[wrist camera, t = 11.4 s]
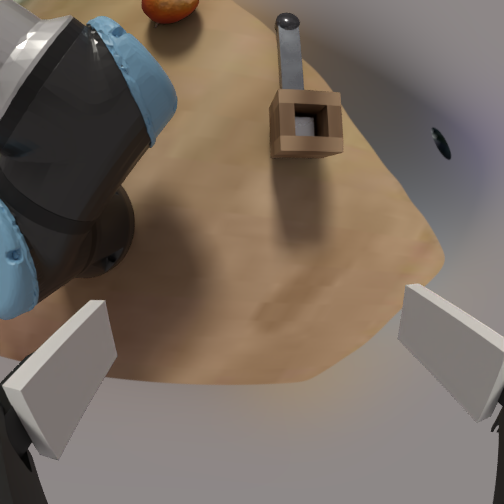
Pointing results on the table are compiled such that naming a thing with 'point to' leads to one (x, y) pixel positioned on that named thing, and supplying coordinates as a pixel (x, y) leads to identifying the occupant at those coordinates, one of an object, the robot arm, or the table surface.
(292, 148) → the socket collar
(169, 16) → the fruit
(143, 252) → the table surface
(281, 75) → the grey lever handle
